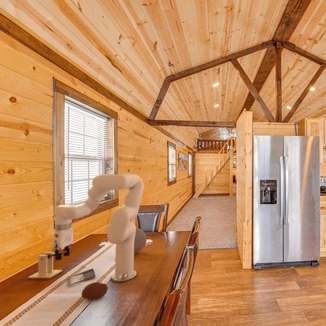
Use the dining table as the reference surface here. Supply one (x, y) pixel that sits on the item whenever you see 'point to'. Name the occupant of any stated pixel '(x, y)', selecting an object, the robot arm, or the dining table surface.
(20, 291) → the dining table surface
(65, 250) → the lever
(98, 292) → the potato
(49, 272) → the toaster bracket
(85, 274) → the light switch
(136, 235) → the planter
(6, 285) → the dining table surface
